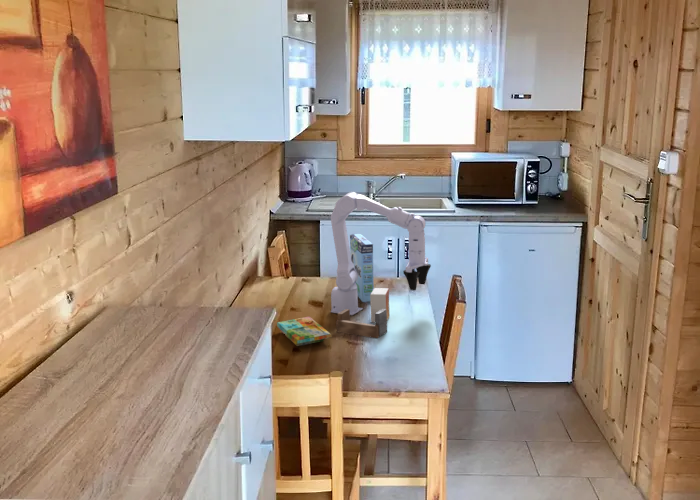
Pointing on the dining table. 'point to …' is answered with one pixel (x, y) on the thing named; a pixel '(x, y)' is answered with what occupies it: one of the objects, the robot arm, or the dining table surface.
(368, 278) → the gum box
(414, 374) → the dining table surface
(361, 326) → the walnut shelf corner
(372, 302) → the small box
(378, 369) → the dining table surface
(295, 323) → the puzzle game
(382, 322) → the bookend
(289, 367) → the dining table surface
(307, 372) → the dining table surface
